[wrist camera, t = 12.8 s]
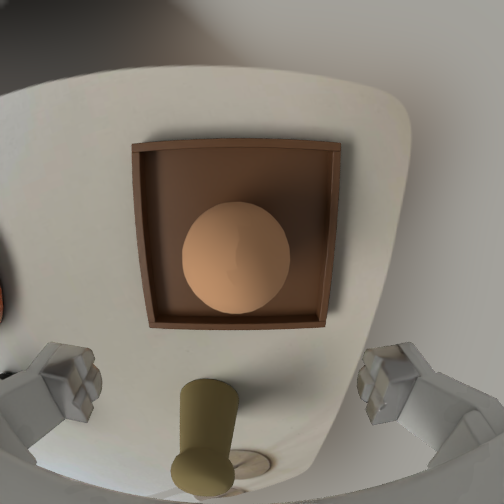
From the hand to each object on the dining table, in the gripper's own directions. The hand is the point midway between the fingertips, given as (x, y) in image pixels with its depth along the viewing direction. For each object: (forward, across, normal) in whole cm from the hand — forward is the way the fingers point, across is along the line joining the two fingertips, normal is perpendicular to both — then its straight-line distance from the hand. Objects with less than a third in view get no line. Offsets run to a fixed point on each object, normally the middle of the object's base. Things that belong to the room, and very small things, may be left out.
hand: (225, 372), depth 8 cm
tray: (+15, 0, 0) cm, 15 cm away
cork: (+15, +3, +18) cm, 23 cm away
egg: (+15, 0, 0) cm, 15 cm away
